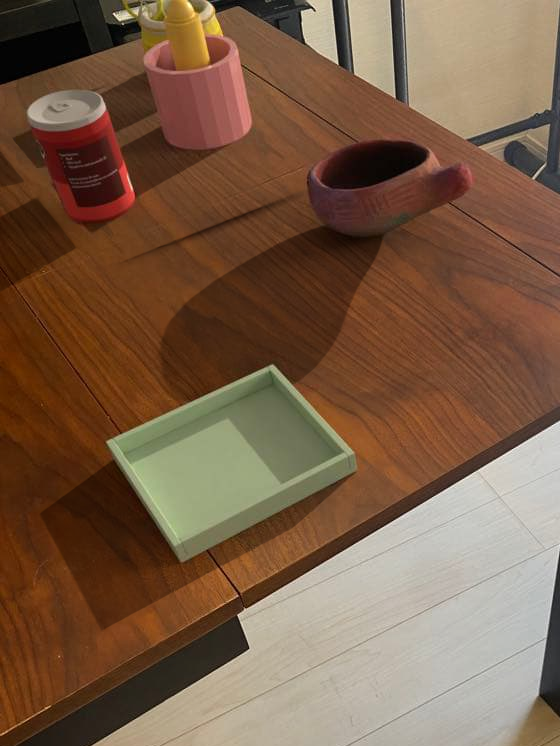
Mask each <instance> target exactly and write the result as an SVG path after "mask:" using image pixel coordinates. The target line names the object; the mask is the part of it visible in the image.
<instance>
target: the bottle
mask: <svg viewBox="0 0 560 746" xmlns="http://www.w3.org/2000/svg"><path fill="white" fill-rule="evenodd" d="M166 13H167V16H166V17H165V18H164V25H165V29H166V32H167V36H168V40H169V44H170V48H171V52H172V56H173V60H174V64H175V67H176V71H188V70H194V69H200V68H204V67H207V66H210V65H211V63H210V58H209V54H208V49H207V45H206V41H205V36H204V32H203V27H202V23H201V18H200V15H199V14H198V13H197V12H194V9H193V7H192V5H191V4H190V3H189V2H188V1H187V0H171V1H170V2H169V4H168V6H167V12H166Z"/></svg>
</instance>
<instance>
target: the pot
mask: <svg viewBox="0 0 560 746" xmlns="http://www.w3.org/2000/svg"><path fill="white" fill-rule="evenodd" d="M204 36H205V41H206V45H207V49H208V54H209V58H210V63H211V65H210V66H207V67H204V68H200V69H194V70H188V71H176V67H175V64H174V60H173V56H172V52H171V48H170V44H169V40H166V41H163V42H161V43H159V44H157V45H155V46H154V47H152V48H151V49H150V50H149V51H148V52H146V54H145V55H144V56H143V57H142V62H143V65H144V69H145V73H146V77H147V79H148V84H149V86H150V91H151V94H152V97H153V100H154V105H155V108H156V111H157V116H158V119H159V123H160V125H161V129H162V132H163V136H164V139H165V140H166V141H167V142H168V143H169V144H170V145H172V146H174V147H176V148H179V149H183V150H191V151H200V150H201V151H203V150H211V149H216V148H220V147H224V146H227V145H231V144H232V143H235V142H236V141H239V140H240V139H242V138H243V137H244V136H246V135H247V134H248V133H249V131H250V129H251V128H252V123H253V119H252V114H251V109H250V105H249V99H248V95H247V90H246V85H245V84H246V83H245V80H244V79H245V78H244V75H243V70H242V64H241V59H240V54H239V49H238V46H237V44H236V42H235V41H234V40H232V39H231V38H230V37H227V36H224V35H223V36H220V35H215V34H204Z"/></svg>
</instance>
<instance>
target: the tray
mask: <svg viewBox="0 0 560 746" xmlns="http://www.w3.org/2000/svg"><path fill="white" fill-rule="evenodd" d="M105 444H106V446H107V448H108V450H109V452H110V454H111V456H112V458H113V460H114V461H115V463H116V465H117V466H118V468H119V469H120V471H121V472H122V474H123V475H124V477H125V479H126V480H127V482H128V483H129V485H130V486H131V488H132V490H133V491H134V493H135V494H136V496H137V497H138V499H139V500H140V502H141V503H142V505H143V507H144V508H145V510H146V511H147V512H148V514H149V516H150V517H151V519H152V520H153V522H154V523H155V525H156V527H157V528H158V530H159V531H160V533H161V535H162V536H163V537H164V539H165V541H166V542H167V543H168V545H169V548H171V550H172V552H173V553H174V554H175V556H176V558H177V559H178V561H179V562H180V563H181V564H183V563H185V562H186V561H188V560H190V559H192V558H194V557H196V556H198V555H200V554H201V553H203V552H206V551H207V550H209V549H211V548H213V547H214V546H216V545H219V544H221V543H223V542H225V541H226V540H228V539H230V538H232V537H234V536H235V535H237V534H239V533H242V532H243V531H246V530H247V529H249V528H251V527H252V526H255V525H256V524H259V523H261V522H262V521H265V520H266V519H268V518H270V517H272V516H273V515H275V514H277V513H279V512H281V511H283V510H285V509H287V508H289V507H291V506H293V505H294V504H297V503H298V502H301V501H303V500H304V499H306V498H308V497H310V496H312V495H314V494H316V493H317V492H320V491H321V490H323V489H325V488H327V487H329V486H330V485H332V484H334V483H336V482H338V481H340V480H342V479H344V478H346V477H348V476H349V475H352V474H353V473H355V472H357V471H358V467H357V461H356V455H355V451H353V450H352V449H351V447H350V446H349V445H348V444H347V443H346V442H345V441H344V440H343V439H342V437H340V435H339V434H338V433H337V432H336V431H335V430H334V429H333V428H332V427H331V425H330V424H329V423H327V421H326V420H325V419H324V418H323V417H322V416H321V415H320V414H319V413H318V411H316V409H315V408H314V407H313V406H312V405H311V404H310V403H309V402H308V401H307V400H306V398H305V397H304V396H303V395H302V394H301V393H300V392H299V391H298V390H297V389H296V388H295V387H294V385H292V383H291V382H290V381H289V380H288V379H287V378H286V376H285V375H284V374H282V372H281V371H280V370H279V369H278V368H277V367H276V366H275V365H274V364H273V363H272V364H269V365H268V366H265V367H263V368H261V369H259V370H257V371H255V372H253V373H250V374H248V375H246V376H244V377H242V378H240V379H237V380H236V381H233V382H231V383H229V384H227V385H224V386H222V387H220V388H218V389H216V390H213V391H212V392H210V393H207V394H205V395H203V396H201V397H198V398H197V399H195V400H192V401H190V402H188V403H186V404H183V405H181V406H178V407H177V408H175V409H172V410H171V411H168V412H167V413H164V414H162V415H160V416H157V417H155V418H152V419H150V420H149V421H147V422H145V423H142V424H140V425H138V426H136V427H134V428H132V429H130V430H127V431H125V432H123V433H121V434H119V435H117V436H114V437H112V438H110V439H108V440H106V441H105Z"/></svg>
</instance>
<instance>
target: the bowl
mask: <svg viewBox="0 0 560 746" xmlns="http://www.w3.org/2000/svg"><path fill="white" fill-rule="evenodd" d="M473 181H474V180H473V175H472V172H471V169H470V168H469V166H468V165H467V164H464V163H463V162H462V163H455V164H452V165H450V166H448V167H444V166H441V165H440V162H439V160H438V159H437V157H436V155H435V153H434V152H433V150H431V149H430V148H429V147H428V146H426V145H424V144H422V143H420V142H417V141H414V140H409V139H393V138H392V139H391V138H377V139H369V140H368V139H367V140H364V141H358V142H353V143H350V144H347V145H345V146H343V147H341V148H338V149H337V150H335V151H333V152H331V153H330V154H327V155H326V156H324V157H322V159H320V160H318V162H317V163H315V164H314V165H313V166H312V167H311V169H309V170H308V174H307V176H306V187H307V194H308V200H309V202H310V206H311V207H312V209H313V212H314V213H315V215H316V216H317V217H318V219H320V221H322V223H324V225H326V226H327V227H328V228H329V229H331V230H333V231H335V232H337V233H340V234H342V235H346V236H351V237H357V238H371V237H376V236H377V237H378V236H381V235H385V234H387V233H389V232H391V231H394V230H395V229H397V228H399V227H401V226H403V225H405V224H408V223H409V222H411V221H413V220H414V219H416V218H417V217H420V216H422V215H423V214H426V213H428V212H430V211H432V210H435V209H437V208H440V207H442V206H445V205H446V204H447V205H448V203H451V202H453V201H456V200H458V199H459V198H461V197H463V196H464V195H465V194H466V193H467V192H468V191H469V190H470V189H471V188H472V186H473Z"/></svg>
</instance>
